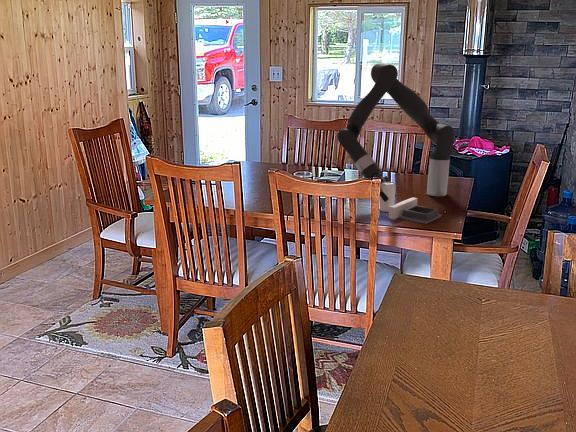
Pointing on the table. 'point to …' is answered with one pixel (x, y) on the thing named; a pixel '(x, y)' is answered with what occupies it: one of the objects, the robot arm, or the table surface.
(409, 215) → the keeper
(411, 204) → the door edge
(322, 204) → the drinking glass
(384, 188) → the can
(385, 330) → the table surface
